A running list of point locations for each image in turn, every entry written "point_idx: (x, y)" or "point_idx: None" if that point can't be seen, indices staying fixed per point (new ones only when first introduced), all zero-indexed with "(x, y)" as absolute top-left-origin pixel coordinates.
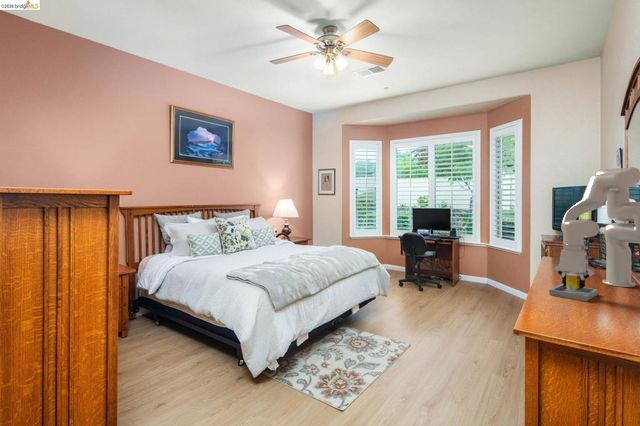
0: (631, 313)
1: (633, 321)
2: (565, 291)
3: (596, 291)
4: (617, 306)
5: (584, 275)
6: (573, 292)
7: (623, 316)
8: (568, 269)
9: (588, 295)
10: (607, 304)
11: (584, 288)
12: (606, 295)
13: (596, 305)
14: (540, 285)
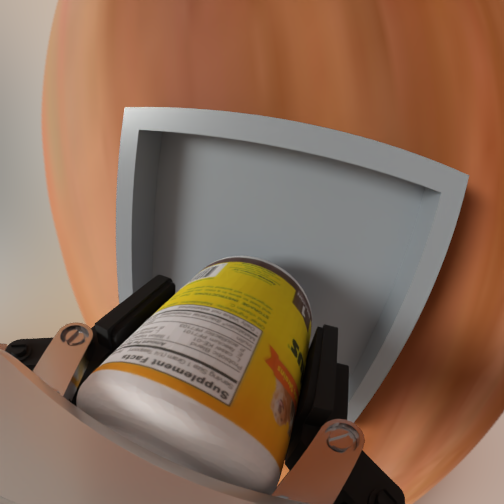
0: (457, 459)
1: (417, 498)
2: (194, 248)
3: (451, 219)
4: (461, 415)
5: (332, 486)
6: (254, 249)
7: (414, 487)
8: None
9: (354, 417)
10: (432, 411)
11: (346, 160)
12: (496, 150)
13: (372, 445)
14: (54, 113)
